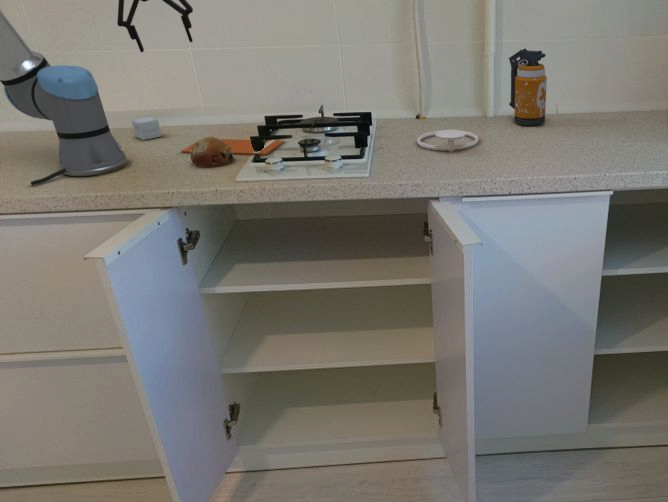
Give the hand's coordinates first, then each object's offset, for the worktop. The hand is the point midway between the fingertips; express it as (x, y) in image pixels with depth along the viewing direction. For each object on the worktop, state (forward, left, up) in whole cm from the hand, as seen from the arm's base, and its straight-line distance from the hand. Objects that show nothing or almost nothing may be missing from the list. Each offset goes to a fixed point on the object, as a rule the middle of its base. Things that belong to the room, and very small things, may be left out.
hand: (167, 46), depth 190 cm
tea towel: (-20, -25, -22) cm, 39 cm away
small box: (-12, +5, -23) cm, 26 cm away
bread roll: (-33, -26, -23) cm, 48 cm away
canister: (+12, -102, -23) cm, 105 cm away
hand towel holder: (-12, -83, -23) cm, 87 cm away
